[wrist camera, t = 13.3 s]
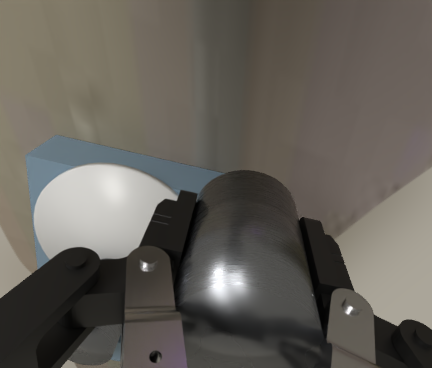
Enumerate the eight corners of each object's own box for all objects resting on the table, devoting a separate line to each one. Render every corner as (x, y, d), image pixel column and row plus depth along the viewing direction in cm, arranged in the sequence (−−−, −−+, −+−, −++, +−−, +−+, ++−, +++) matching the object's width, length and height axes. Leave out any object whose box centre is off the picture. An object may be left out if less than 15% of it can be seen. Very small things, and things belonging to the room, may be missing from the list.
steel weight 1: (88, 253, 25) (46, 317, 20) (142, 265, 25) (114, 332, 20) (88, 290, 28) (50, 357, 22) (138, 301, 28) (112, 370, 22)
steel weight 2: (204, 159, 13) (172, 272, 8) (311, 184, 13) (352, 311, 8) (187, 241, 15) (153, 371, 10) (278, 261, 15) (292, 400, 10)
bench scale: (55, 123, 25) (-20, 168, 18) (228, 162, 25) (219, 222, 18) (63, 271, 33) (13, 340, 26) (194, 300, 34) (178, 377, 27)
